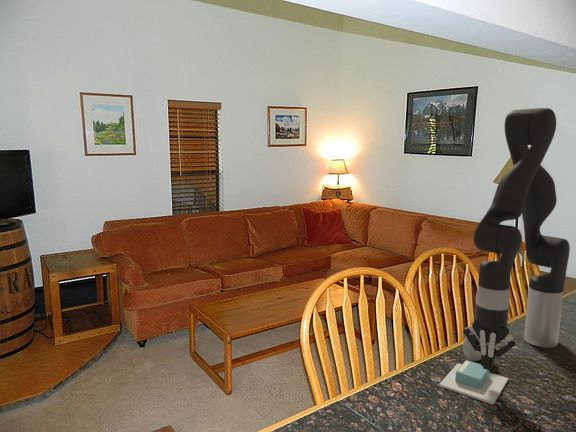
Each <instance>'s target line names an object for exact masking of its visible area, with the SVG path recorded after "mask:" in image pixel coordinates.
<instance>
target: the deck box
mask: <svg viewBox="0 0 576 432" xmlns="http://www.w3.org/2000/svg"><path fill="white" fill-rule="evenodd" d="M489 373H490V370H486V369H483V366H481V363H478V362H476V361H471V360H469V359H465V361H463V363H462V365H461V366H460V368H459V369H458V370H457V371H456V378H455V381H457V382H460V383H463V384H466V385H469V386H472V387H475V388H478V389H480V388H481V386H482V385H483V383H484V382H485V381H486V379H487V378H488V376H489Z"/></svg>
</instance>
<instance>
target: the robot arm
mask: <svg viewBox="0 0 576 432" xmlns="http://www.w3.org/2000/svg"><path fill="white" fill-rule="evenodd" d="M556 131H557V116H556V113H555V112H554V110H553V109H552V108H548V107H539V108H537V107H536V108H524V109H523V108H521V109H514V110H510V111H509V112H508V113H507V114H506V116H505V120H504V135H505V140H506V143H507V148H508V151H509V153H510V155H509V156H510V158H511V161H512V165H513V167H511V168H510V169H509V170H508V171H507V172H506V173H505V174H504V175H503V177H502V178H501V179H500V181H499V183H498V184H497V188H496V190H495V193H494V196H493V199H492V202H491V205H490V207H489V208H488V210H487V212H485V215H483V217H482V218H481V220H480V221H479V223H478V224H477V226H476V228H475V230H474V232H473V240H472V241H473V244H474V246H475V248H476V249H478V250H479V251H483V252H487V253H488V252H489V253H493V254H499V255H500V258H499V260H485V261H482V262H481V263H480V265H479V269H478V281H477V283H478V284H477V289H476V295H475V306H474V307H475V309H474V310H475V311H474V321H473V322H472V324H471V326H466V327H465V328H464V329H463V331H462V333H463V334H464V336H466V337H467V339H468V340H469V342H470V344H471V345H472V347H473V348H474V350H475V351H479V352H480V353H481V355H482V356H481V360H480V364H481V366H483V369H486V370H489V371H490V370H491V369H493V367H494V366H495V360H496V359H495V358H496V357H498V358H500V357H502V356H503V355H504V354H507V352H508V351H510V350H512V349H513V347H514V346H516V344H518V338H515V337H512V335H511V334H509V333H510V330H509V328H508V320H509V309H510V299H511V298H510V297H511V295H510V282H511V275H512V274H511V273H512V269H513V266H514V262H515V260H516V257H517V255H518V253H519V251H520V248H521V246H522V242H523V236H524V251H525V257H526V259H527V261H528V262H529V263H530V264H532V265H534V266H540V267H544V268H550V271H549V273H545V274H544V273H543V274H535V275H533V276H530V278H529V280H528V289H527V300H526V301H527V303H526V313H525V324H524V332H523V333H524V335H523V339H524V341H525V342H526V343H528V344H530V345H532V346H535V347H539V348H544V349H545V348H547V349H550V348H551V349H553V348H556V347H558V345H559V344H558V343H559V336H560V326H561V325H560V324H561V319H562V318H561V317H562V307H563V298H564V297H563V296H564V291H565V290H564V287H565V282H566V276H567V270H568V263H569V259H570V252H571V251H570V250H571V249H570V243H569V241H568V240H567V239H565V238H561V237H556V236H549V235H542V233H541V226H542V225H543V223H544V222H545V221H546V220H547V218H548V217H549V216H550V215H551V214H552V212H553V211H554V209H555V207H556V205H557V201H558V200H557V191H556V185H555V180H554V178H553V177H552V175H550V173H549V172H548V171H547V170H546V168H545V167H543V166H542V165H541V164H542V163H543V161H544V159H545V157H546V155H547V152H548V150H549V148H550V146H551V144H552V141H553V139H554V137H555V133H556ZM529 146H530V147H529ZM520 217H522V222H523V231H524V235H522V232H521V230H520V229H519V228H518V227H517V226H514V225H507V224H501V223H502V222H506V221H515V220H517V219H519V218H520ZM474 333H476V334H477V336H478V338H479V339H480V342H479V340H478V339H477V337H476V336H475V334H474ZM503 340H505V341H504V345H502V346H501V347H500V348H499V349H497V347H498V344H500V343H501V342H502V341H503Z"/></svg>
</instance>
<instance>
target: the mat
mask: <svg viewBox="0 0 576 432" xmlns="http://www.w3.org/2000/svg"><path fill="white" fill-rule="evenodd" d="M462 364H463V363H462ZM462 364H461V363H459V362H458V363H456V365H455V366H453V368H452V369H451V370H450V371H449V373H448V374H447V375H446V376H445V377H444V378H443V379H442V381H441V382H440V383H439V385H438V386H439V387H441V388H443V389H447V390H449V391H452V392H456V393H458V394H461V395H464V396H466V397H469V398H473V399H475V400H479V401H481V402H484V403H487V404H490V405H494V404H495V403H496V401H497V399H498V398H499V396H500V394H501V393H502V391H503V390H504V388H505V387H506V385H507V383H508V381H509V378H508V377H506V376H502V375H499V374H494V373H492V372H489V376H488V378H487V379H486V381H485V382H484V383H483V385H482V386H481V388H480V389H478V388H475V387H472V386H469V385H466V384H463V383H460V382H457V381H455V378H456V371H457V370H458V369H459V368H460V366H461V365H462Z"/></svg>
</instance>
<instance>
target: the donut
mask: <svg viewBox="0 0 576 432" xmlns="http://www.w3.org/2000/svg"><path fill="white" fill-rule="evenodd" d="M474 334H475V336H476V337H477V339H478V340H479V342H480V339H479V338H478V336H477V334H476V333H474ZM464 336H465V335H464ZM462 351H463V355H464V356H465V358H466V360H468V361H471V362H479V361H481V356H482V355H481V353H480V352H479V351H475V350H474V348H473V347H472V345H471V344H470V342H469V340H468V339H467V337H466V336H465V337H464V339H463V344H462Z"/></svg>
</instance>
